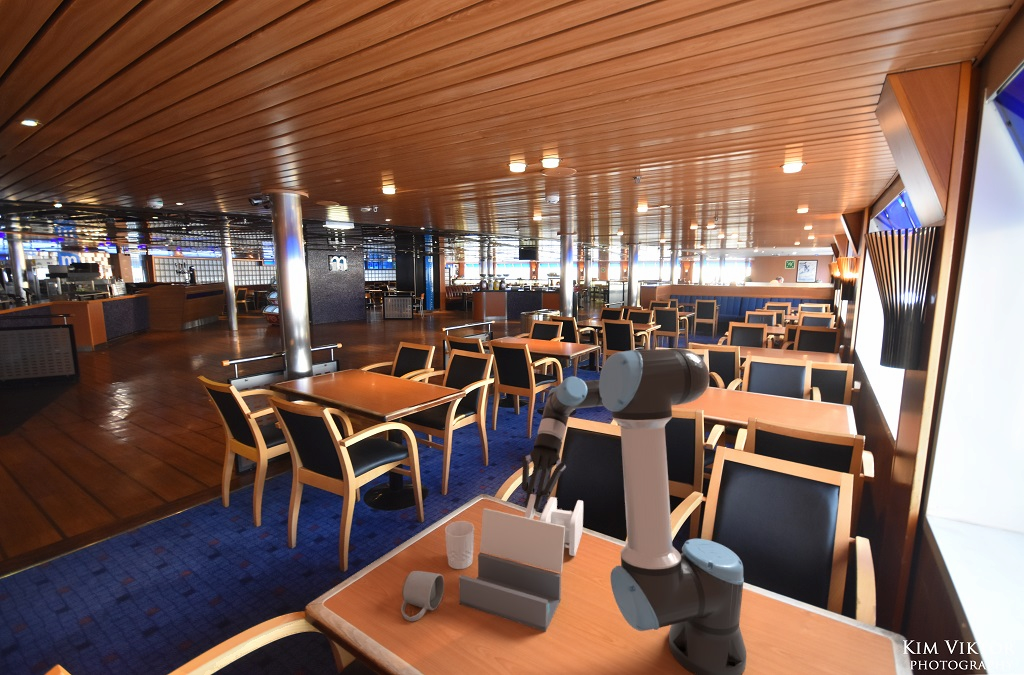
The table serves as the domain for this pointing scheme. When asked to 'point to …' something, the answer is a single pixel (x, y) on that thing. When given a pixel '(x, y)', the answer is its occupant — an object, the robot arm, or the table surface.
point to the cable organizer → (566, 522)
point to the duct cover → (523, 539)
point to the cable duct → (512, 591)
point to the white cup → (459, 544)
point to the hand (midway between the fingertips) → (528, 520)
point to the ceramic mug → (422, 592)
